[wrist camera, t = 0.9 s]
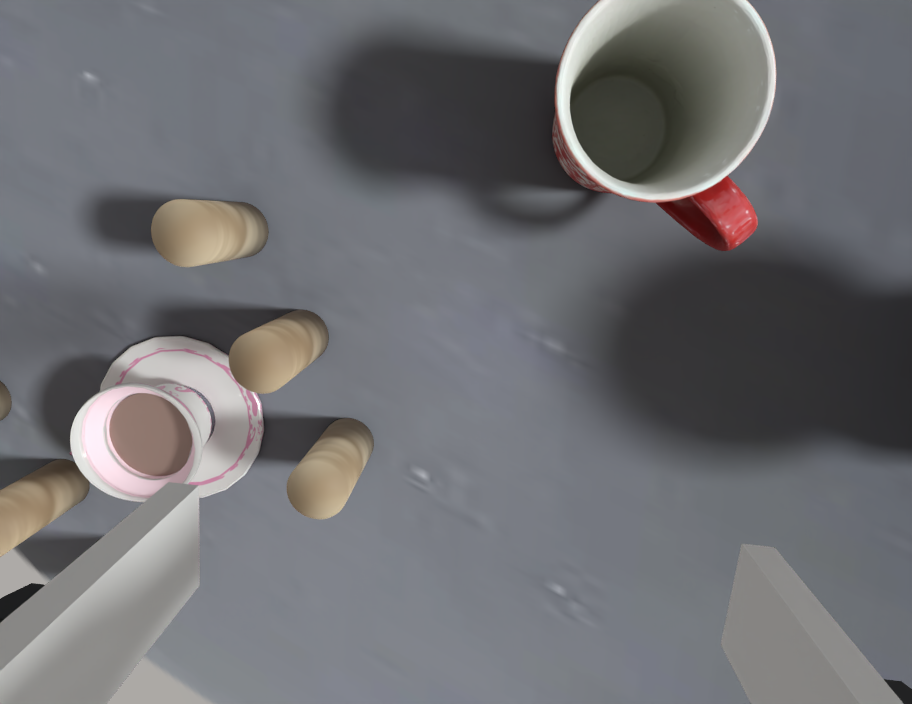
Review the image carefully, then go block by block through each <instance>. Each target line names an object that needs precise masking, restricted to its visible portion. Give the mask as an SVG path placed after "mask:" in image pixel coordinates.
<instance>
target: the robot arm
mask: <svg viewBox="0 0 912 704" xmlns="http://www.w3.org/2000/svg"><path fill="white" fill-rule="evenodd" d="M199 585H200V581H199V485H191V484H182V483H172V482H168V483H167V484H165V485H164V486H163V487H162V488H161V489H159V490H158V491H157V492H156V493H155V494H154V495H152V496H151V497H150V498H149V499H148V500H146V501H145V502H144V503H143V504H142V505H140V506H139V507H138V508H137V509H136V510H134V511H133V512H132V513H131V514H130V515H128V516H127V517H126V518H125V519H124V520H122V521H121V522H120V523H119V524H118V525H116V526H115V527H114V528H113V529H112V530H111V531H109V532H108V533H107V534H106V535H105V536H103V537H102V538H101V539H100V540H99V541H97V542H96V543H95V544H94V545H93V546H91V547H90V548H89V549H88V550H87V551H85V552H84V553H83V554H82V555H81V556H79V557H78V558H77V559H76V560H75V561H73V562H72V563H71V564H70V565H69V566H68V567H66V568H65V569H64V570H63V571H62V572H60V573H59V574H58V575H57V576H56V577H54V578H53V579H52V580H51V581H50V582H48V583H47V584H46V585H42V584H33V583H31V584H29V585H27V586H25V587H23V588H21V589H19V590H17V591H15V592H13V593H10V594H8V595H6V596H4V597H2V598H1V599H0V704H107V702H108V701H109V700H110V699H111V698H112V696H113V695H114V694H115V692H116V691H117V690H118V689H119V687H120V686H121V685H122V684H123V682H124V681H125V680H126V678H127V677H128V676H129V675H130V673H131V672H132V671H133V669H134V668H135V667H136V666H137V664H138V663H139V662H140V661H141V659H142V658H143V657H144V655H145V654H146V653H147V652H148V650H149V649H150V648H151V647H152V645H153V644H154V643H155V641H156V640H157V639H158V638H159V636H160V635H161V634H162V633H163V631H164V630H165V629H166V627H167V626H168V625H169V624H170V622H171V621H172V620H173V619H174V617H175V616H176V615H177V613H178V612H179V611H180V610H181V608H182V607H183V606H184V604H185V603H186V602H187V601H188V599H189V598H190V597H191V596H192V594H193V593H194V592H195V590H196V589H197V588H198V587H199ZM721 646H722V648H723V650H724V652H725V654H726V656H727V658H728V660H729V662H730V664H731V666H732V667H733V669H734V671H735V673H736V675H737V677H738V679H739V681H740V683H741V685H742V687H743V689H744V691H745V693H746V695H747V696H748V698H749V700H750V702H751V704H912V689H911V688H909V687H908V686H907V685H905V684H904V683H903V682H901V681H894V680H885V679H883V678H882V677H881V676H880V675H879V673H878V672H877V671H876V670H875V669H874V667H873V666H872V665H871V664H870V662H869V661H868V660H867V659H866V658H865V656H864V655H863V654H862V653H861V652H860V650H859V649H858V648H857V647H856V645H855V644H854V643H853V642H852V641H851V639H850V638H849V637H848V636H847V635H846V633H845V632H844V631H843V630H842V628H841V627H840V626H839V625H838V624H837V622H836V621H835V620H834V619H833V618H832V616H831V615H830V614H829V613H828V612H827V610H826V609H825V608H824V607H823V605H822V604H821V603H820V602H819V601H818V599H817V598H816V597H815V596H814V595H813V593H812V592H811V591H810V590H809V588H808V587H807V586H806V585H805V584H804V582H803V581H802V580H801V579H800V578H799V576H798V575H797V574H796V573H795V572H794V570H793V569H792V568H791V567H790V565H789V564H788V563H787V562H786V561H785V559H784V558H783V557H782V556H781V555H780V553H779V552H778V551H777V550H776V548H775V547H767V546H758V545H749V544H742V545H741V550H740V554H739V559H738V564H737V569H736V574H735V578H734V583H733V588H732V593H731V598H730V603H729V607H728V612H727V617H726V622H725V627H724V631H723V636H722V641H721Z"/></svg>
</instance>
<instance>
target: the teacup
mask: <svg viewBox="0 0 912 704" xmlns="http://www.w3.org/2000/svg"><path fill="white" fill-rule="evenodd" d="M182 385H183V386H182ZM185 386H187V387H190V388H194V389H195V390H197V391H198V392H200V393H201V394H203V395H204V396H205V398H206V399H207V400H208V401H209V402H210V404H211V406H212V409H213V411H214V415H215V426H214V431H213V433H212V435H211V437H210V438H209V436H210V433H211V426H212V423H211V416H210V412H209V410H208V407H207V406H206V404H205V402H204V401H203V400H202V398H201V397H200V396H199V395H198V394H197V393H195V392H194V391H193V390H191V389H189V388H187V387H185ZM263 433H264V421H263V413H262V404H261V401H260V399H259V397H258V395H257V393H255V392H251V391H249V390H247V389H245V388H244V387H242V386H241V385H240V384H239V383H238V382H237V381H236V380H235V378H234V377H233V375H232V373H231V371H230V367H229V356H228V355H227V354H225V353H224V352H222V351H220V350H219V349H217V348H216V347H214V346H213V345H211V344H209V343H206V342H203V341H199V340H196V339H192V338H189V337H185V336H166V337H155V338H152V339H150V340H147V341H144V342H142V343H139V344H137V345H134V346H131V347H130V348H129V349H128V350H127V351H125V352H124V353H123V354H122V355H121V356H120V357H119V358H117V359H116V360H115V361H114V362H113V363H112V365H111V366H110V368H109V370H108V372H107V374H106V376H105V378H104V379H103V381H102V383H101V386H100V392H99V393H97V394H95V395H94V396H92V397H91V398H90V399H89V400H88V401H86V402H85V404H84V405H83V406H82V407H81V408H80V410H79V411H78V413H77V415H76V417H75V419H74V422H73V424H72V428H71V434H70V445H71V452H70V455H73V457H74V460H75V462H76V464H77V466H78V468H79V469H80V471H81V472H82V474H83V475H84V476H85V477H86V478H87V479H88V480H89V481H90V482H91V483H92V484H93V485H94V486H96V487H97V488H98V489H100V490H102V491H103V492H105V493H107V494H109V495H111V496H114V497H117V498H119V499H123V500H127V501H133V502H145V501H146V500H148V499H149V498H150V497H151V496H152V495H154V494H155V493H156V492H157V491H158V490H159V489H161V488H162V487H163V486H164V485H165V484H167V483H168V482H172V483H182V484H191V485H199V498H200V497H206V496H209V495H212V494H215V493H218V492H221V491H224V490H226V489H228V488H229V487H230V486H231V485H233V484H234V483H235V482H237V481H238V480H239V479H240V478H242V477H243V476H244V475H245V474H246V473H247V472H248V470H249V469H250V467H251V465H252V464H253V462H254V460H255V459H256V457H257V456H258V454H259V451H260V447H261V442H262V438H263ZM208 439H209V440H208ZM207 440H208V441H207Z"/></svg>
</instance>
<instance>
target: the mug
mask: <svg viewBox="0 0 912 704" xmlns="http://www.w3.org/2000/svg"><path fill="white" fill-rule="evenodd" d="M775 88H776V63H775V55H774V50H773V46H772V42H771V39H770V37H769V34H768V31H767V28H766V26H765V24H764V22H763V21H762V19H761V17H760V16H759V15H758V13H757V12H756V10H755V9H754V7H753V6H752V5H751V4H750V3H749V2H748V1H747V0H599V1H598V2H597V3H596V4H595V5H594V6H593V7H592V8H591V9H590V10H589V11H588V12H587V13H586V14H585V15H584V17H583V18H582V19H581V20H580V22H579V23H578V25H577V26H576V28H575V29H574V31H573V32H572V34H571V36H570V38H569V40H568V42H567V44H566V46H565V49H564V51H563V54H562V56H561V59H560V63H559V66H558V70H557V75H556V83H555V98H554V100H555V111H556V112H555V116H554V122H553V128H552V140H553V145H554V150H555V153H556V156H557V159H558V161H559V163H560V164H561V166H562V168H563V169H564V170H565V172H566V173H567V174H568V175H569V176H570V177H571V178H572V179H573V180H574V181H576V182H577V183H579V184H580V185H582V186H584V187H586V188H588V189H591V190H594V191H598V192H603V193H613V194H616V195H618V196H621V197H624V198H627V199H630V200H635V201H641V202H654V203H656V204H657V205H659V206H660V207H661V208H662V209H663V210H664V211H665V212H666V213H668V214H669V215H670V216H671V217H672V218H673V219H674V220H676V221H677V222H678V223H679V224H680V225H682V226H683V227H684V228H685V229H687V230H688V231H689V232H690V233H692V234H693V235H694V236H695V237H697V238H698V239H699V240H701V241H702V242H704V243H705V244H707V245H709V246H711V247H713V248H715V249H717V250H721V251H728V250H732V249H734V248H736V247H737V246H738V245H740V244H741V243H743V242H744V241H745V240H746V239H747V238H748V237H749V236H750V235H752V234H753V233H754V231H755V230H756V228H757V224H758V220H757V216H756V213H755V210H754V209H753V207H752V205H751V203H750V202H749V200H748V199H747V197H746V196H745V195H744V194H743V193H742V192H741V190H740V189H739V187H737V185H736V184H735V183H734V182H733V181H732V180H731V179H730V178H729V177H728V176H727V175H729V174H730V173H731V172H732V171H733V170H734V169H735V168H736V167H738V165H739V164H740V163H741V162H742V161H743V160H744V159H745V158H746V156H747V155H748V154H749V153H750V151H751V150H752V148H753V147H754V145H755V144H756V142H757V141H758V139H759V137H760V136H761V134H762V132H763V130H764V128H765V125H766V123H767V121H768V119H769V116H770V113H771V109H772V106H773V101H774V96H775Z"/></svg>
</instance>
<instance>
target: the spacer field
mask: <svg viewBox="0 0 912 704" xmlns="http://www.w3.org/2000/svg"><path fill="white" fill-rule="evenodd" d="M151 235H152V240H153V243H154V245H155V247H156V249H157V251H158V252H159V253H160V255H161V256H162V257H163V258H164V259H166V260H167V261H169V262H170V263H172V264H174V265H177V266H181V267H193V266H198V265H204V264H210V263H216V262H222V261H228V260H234V259H240V258H245V257H250V256H253V255H255V254H257V253H258V252H260V251H261V250H262V249H263V247H264V246H265V244H266V242H267V239H268V225H267V221H266V219H265V217H264V215H263V214H262V213H261V212H260V211H259V210H258V209H257V208H256V207H254V206H253V205H251V204H248V203H244V202H228V201H207V200H187V199H176V200H172V201H169V202H167V203H165V204H164V205H162V206H161V207H160V208H159V209H158V210H157V212H156V213H155V215H154V217H153V220H152V225H151ZM328 340H329V334H328V330H327V327H326V325H325V323H324V322H323V320H322V319H321V318H320V317H319V316H318V315H316V314H315V313H313V312H311V311H307V310H295V311H292V312H290V313H287V314H285V315H283V316H281V317H279V318H277V319H275V320H273V321H271V322H268V323H266V324H264V325H262V326H260V327H258V328H256V329H254V330H251V331H249V332H247V333H245V334H243V335H241V336H240V337H239V338H238V339H237V340H236V341H235V342H234V343H233V345H232V347H231V349H230V352H229V367H230V371H231V373H232V375H233V377H234V378H235V380H236V381H237V382H238V383H239V384H240V385H241V386H242V387H244V388H245V389H247V390H249V391H251V392H255V393H262V394H264V393H271V392H274V391H276V390H278V389H279V388H281V387H282V386H283V385H285V384H286V383H287V382H288V381H290V380H291V379H292V378H293V377H295V376H296V375H297V374H298V373H300V372H301V371H302V370H303V369H305V368H306V367H307V366H308V365H310V364H311V363H312V362H313V361H315V360H316V359H317V358H318V357H320V356H321V355H322V354H323V352H324V351H325V349H326V348H327V345H328ZM10 409H11V396H10V393H9V391H8V389H7V388H6V386H5V385H4V384H3V383H2V382H1V381H0V421H1V420H3V419H4V418H5V417H6V416H7V415H8V414H9V412H10ZM373 447H374V441H373V436H372V434H371V432H370V430H369V429H368V427H367V426H366V425H364V424H363V423H362V422H360V421H358V420H355V419H351V418H343V419H339V420H336V421H334V422H333V423H331V424H330V425H329V426H328V428H327V429H326V430H325V431H324V433H323V434H322V435H321V436H320V438H319V439H318V440H317V442H316V443H315V444H314V445H313V447H312V448H311V449H310V450H309V452H308V453H307V454H306V455H305V457H304V458H303V459H302V460H301V462H300V463H299V464H298V465H297V467H296V468H295V469H294V470H293V472H292V473H291V475H290V476H289V479H288V482H287V495H288V498H289V500H290V502H291V504H292V505H293V507H294V508H295V509H296V510H297V511H298V512H300V513H301V514H303V515H304V516H307V517H309V518H313V519H326V518H329V517H332V516H334V515H336V514H337V513H338V512H339V511H340V510H341V509H342V508H343V507H344V505H345V503H346V501H347V499H348V497H349V496H350V494H351V492H352V490H353V488H354V486H355V484H356V482H357V480H358V478H359V476H360V475H361V473H362V471H363V469H364V467H365V465H366V463H367V461H368V459H369V457H370V455H371V453H372V451H373ZM88 491H89V480H88V479H87V478H86V477H85V476H84V475H83V474H82V472H81V471H80V469H79V468H78V466H77V464H76V463H75V462H72V461H70V460H66V459H58V460H54V461H52V462H50V463H48V464H47V465H45V466H43V467H41V468H39V469H38V470H36V471H34V472H32V473H30V474H29V475H27V476H25V477H23V478H21V479H20V480H18V481H16V482H14V483H12V484H11V485H9V486H7V487H5V488H3V489H2V490H0V557H1V556H3V555H4V554H6V553H7V552H8V551H10V550H11V549H13V548H14V547H16V546H17V545H19V544H20V543H22V542H23V541H24V540H26V539H27V538H29V537H30V536H32V535H33V534H35V533H36V532H37V531H39V530H40V529H42V528H43V527H45V526H46V525H48V524H49V523H51V522H52V521H53V520H55V519H56V518H58V517H59V516H61V515H62V514H64V513H65V512H66V511H68V510H69V509H71V508H72V507H74V506H75V505H77V504H78V503H80V502H81V501H82V500H83V499H85V497H86V496H87V494H88Z"/></svg>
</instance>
